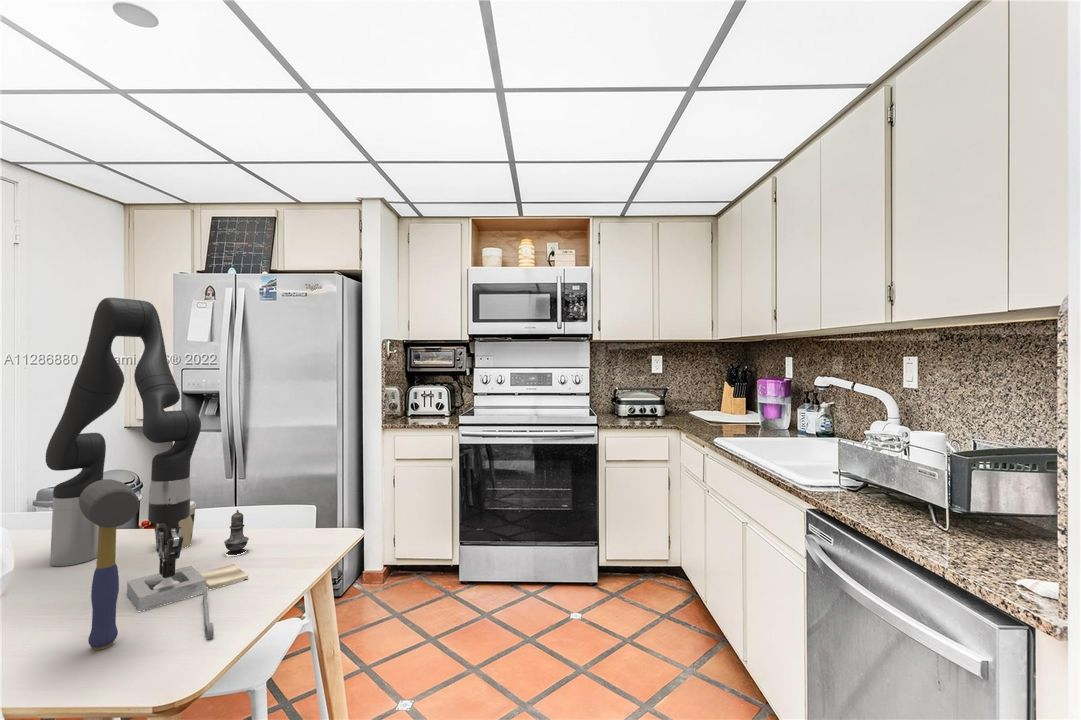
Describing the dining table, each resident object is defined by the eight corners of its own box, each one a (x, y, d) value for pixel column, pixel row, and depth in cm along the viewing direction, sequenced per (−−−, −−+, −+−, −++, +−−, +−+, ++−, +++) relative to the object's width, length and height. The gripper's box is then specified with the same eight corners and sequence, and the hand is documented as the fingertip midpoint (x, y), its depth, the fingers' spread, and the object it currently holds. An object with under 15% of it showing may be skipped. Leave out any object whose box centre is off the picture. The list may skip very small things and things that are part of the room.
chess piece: (150, 595, 106) (152, 549, 106) (155, 586, 110) (157, 542, 111) (177, 590, 108) (179, 546, 109) (182, 582, 113) (183, 539, 113)
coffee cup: (200, 545, 139) (202, 503, 140) (161, 555, 132) (163, 511, 132) (186, 538, 144) (187, 498, 145) (148, 548, 137) (149, 505, 137)
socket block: (126, 594, 108) (127, 581, 109) (190, 577, 118) (191, 565, 118) (138, 612, 101) (139, 597, 101) (205, 593, 110) (206, 579, 110)
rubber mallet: (69, 642, 89) (76, 480, 90) (122, 626, 95) (128, 474, 96) (80, 669, 81) (88, 491, 82) (137, 650, 87) (143, 484, 88)
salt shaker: (236, 558, 131) (238, 513, 131) (218, 556, 132) (219, 511, 132) (253, 550, 136) (254, 507, 137) (235, 548, 138) (237, 506, 138)
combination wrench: (214, 623, 91) (210, 582, 107) (205, 625, 91) (202, 584, 107) (213, 643, 91) (209, 599, 107) (204, 645, 90) (202, 601, 107)
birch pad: (196, 577, 118) (196, 573, 118) (233, 568, 124) (233, 564, 124) (209, 590, 111) (209, 585, 111) (248, 579, 117) (248, 575, 117)
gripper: (142, 495, 111) (139, 571, 111) (156, 507, 102) (153, 590, 102) (181, 490, 117) (178, 562, 117) (198, 500, 108) (195, 578, 108)
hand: (167, 574), depth 109 cm, fingers closed on chess piece
